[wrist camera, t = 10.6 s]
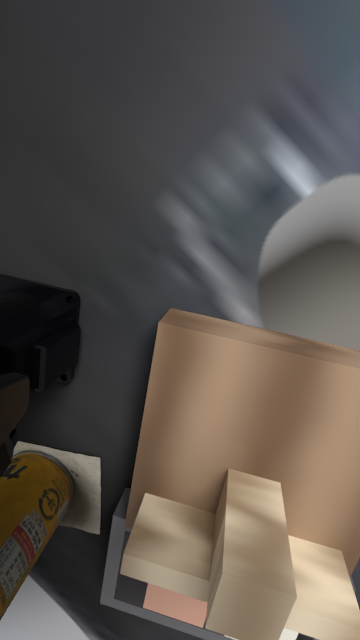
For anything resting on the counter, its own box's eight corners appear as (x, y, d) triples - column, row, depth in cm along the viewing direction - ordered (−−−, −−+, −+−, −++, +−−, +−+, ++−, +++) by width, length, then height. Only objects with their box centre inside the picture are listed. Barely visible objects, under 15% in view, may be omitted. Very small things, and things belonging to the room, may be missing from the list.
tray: (112, 570, 27) (99, 603, 25) (125, 487, 25) (113, 515, 22) (305, 634, 26) (312, 676, 23) (343, 552, 23) (355, 590, 20)
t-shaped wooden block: (141, 510, 21) (104, 616, 15) (153, 447, 19) (117, 539, 14) (333, 569, 20) (370, 709, 14) (362, 505, 18) (417, 635, 12)
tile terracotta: (162, 525, 24) (157, 550, 25) (148, 581, 21) (142, 607, 21) (215, 542, 24) (208, 566, 25) (210, 602, 20) (202, 628, 21)
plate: (138, 491, 25) (124, 526, 22) (170, 307, 20) (158, 322, 17) (329, 548, 23) (341, 594, 20) (412, 362, 18) (443, 388, 16)
